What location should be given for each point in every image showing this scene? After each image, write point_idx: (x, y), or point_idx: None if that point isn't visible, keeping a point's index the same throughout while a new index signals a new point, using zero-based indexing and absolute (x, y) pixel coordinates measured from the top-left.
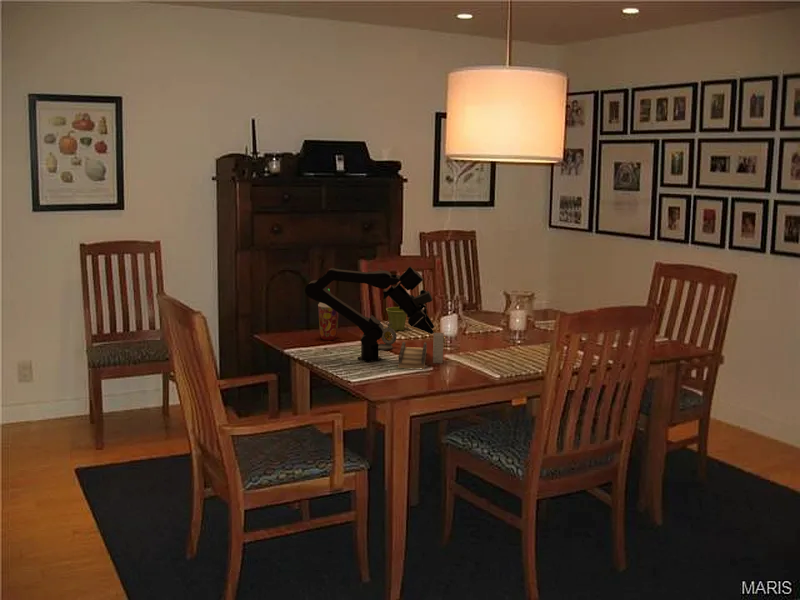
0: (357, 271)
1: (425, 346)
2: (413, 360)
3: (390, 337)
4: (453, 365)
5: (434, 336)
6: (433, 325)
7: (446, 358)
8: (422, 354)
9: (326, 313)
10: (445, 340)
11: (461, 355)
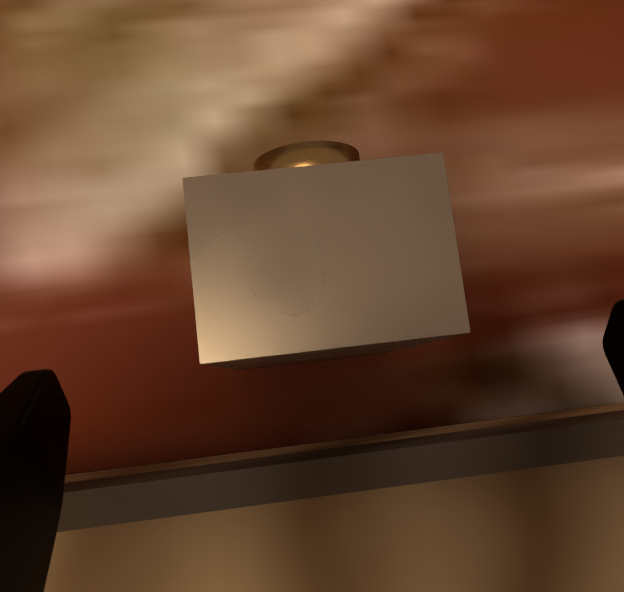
0: None
1: (125, 493)
2: (582, 548)
3: None
4: (420, 147)
5: (461, 314)
6: (38, 392)
7: (163, 243)
8: (561, 459)
9: None
10: (358, 156)
11: (7, 111)
